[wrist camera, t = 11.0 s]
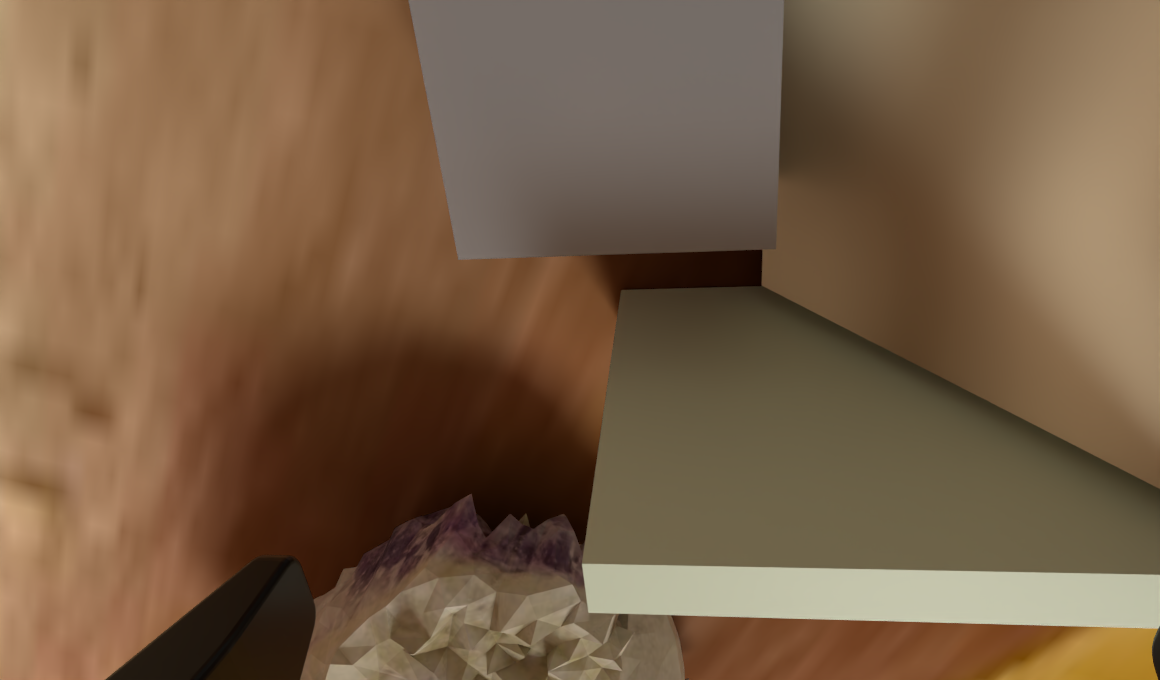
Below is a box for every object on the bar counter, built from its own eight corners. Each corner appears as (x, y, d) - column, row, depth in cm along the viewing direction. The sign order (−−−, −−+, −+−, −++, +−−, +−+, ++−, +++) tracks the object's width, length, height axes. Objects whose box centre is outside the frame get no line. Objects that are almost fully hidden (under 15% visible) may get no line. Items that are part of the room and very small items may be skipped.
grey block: (786, -83, 13) (398, -49, 14) (776, 249, 16) (458, 259, 17) (765, -115, 16) (463, -87, 17) (760, 158, 19) (501, 170, 20)
